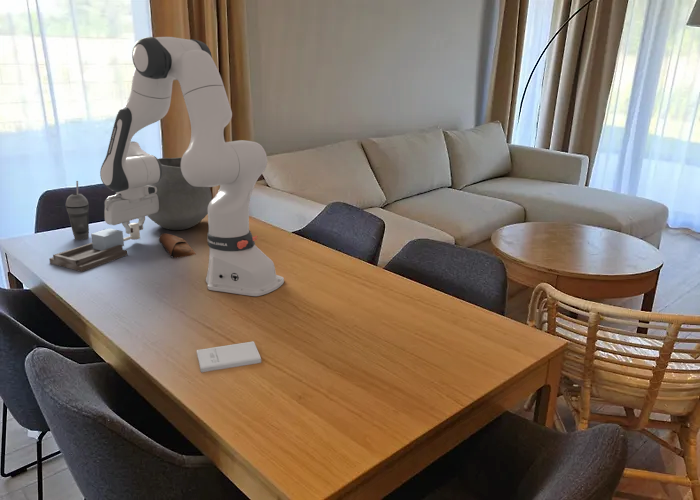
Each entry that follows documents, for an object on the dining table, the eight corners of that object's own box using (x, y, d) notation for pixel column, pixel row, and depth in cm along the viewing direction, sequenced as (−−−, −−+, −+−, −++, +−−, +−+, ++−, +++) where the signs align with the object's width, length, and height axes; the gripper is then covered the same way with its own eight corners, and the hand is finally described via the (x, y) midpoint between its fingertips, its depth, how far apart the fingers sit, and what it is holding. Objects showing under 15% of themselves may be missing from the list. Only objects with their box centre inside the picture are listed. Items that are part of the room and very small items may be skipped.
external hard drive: (261, 364, 119) (200, 374, 115) (253, 346, 126) (196, 355, 122) (261, 358, 119) (200, 367, 114) (253, 340, 126) (196, 348, 122)
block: (145, 238, 190) (143, 224, 189) (106, 251, 177) (104, 236, 175) (132, 235, 193) (131, 221, 191) (93, 248, 179) (91, 233, 178)
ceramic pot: (175, 241, 193) (169, 169, 185) (130, 228, 206) (122, 160, 198) (226, 225, 213) (223, 159, 205) (182, 214, 225) (177, 152, 217)
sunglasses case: (198, 254, 181) (186, 238, 178) (180, 267, 180) (167, 252, 176) (183, 239, 196) (172, 224, 193) (166, 251, 194) (155, 236, 191)
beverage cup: (78, 234, 199) (70, 178, 192) (97, 235, 198) (90, 179, 191) (65, 240, 192) (56, 182, 185) (85, 241, 191) (77, 183, 184)
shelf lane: (127, 255, 179) (126, 246, 178) (81, 271, 165) (80, 262, 164) (97, 247, 185) (95, 239, 184) (50, 263, 171) (48, 253, 170)
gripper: (111, 198, 175) (116, 241, 179) (160, 186, 192) (163, 225, 197) (97, 196, 177) (102, 238, 182) (146, 184, 195) (150, 222, 199)
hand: (134, 231), depth 189 cm, fingers closed on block, 3 cm apart
